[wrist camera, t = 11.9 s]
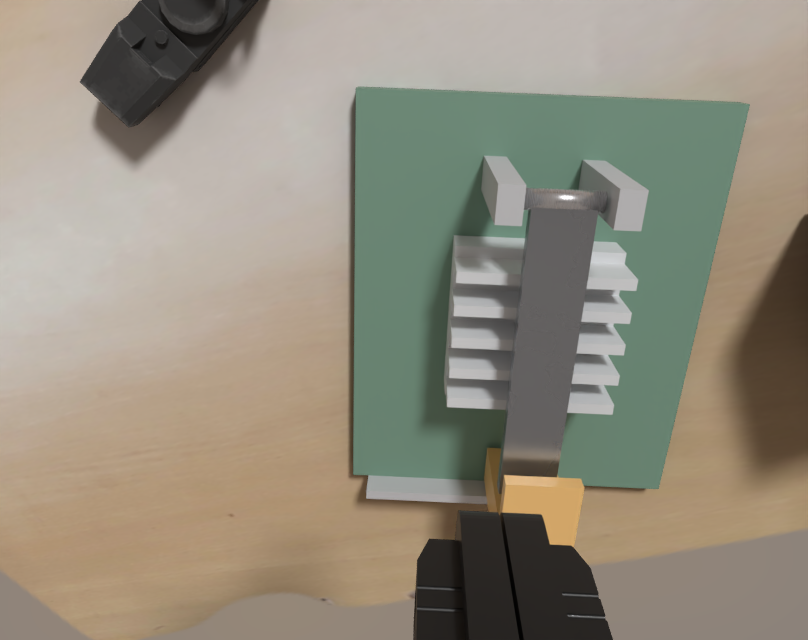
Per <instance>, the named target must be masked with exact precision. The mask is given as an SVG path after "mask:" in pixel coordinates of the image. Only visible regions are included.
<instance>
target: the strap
mask: <svg viewBox="0 0 808 640" xmlns="http://www.w3.org/2000/svg"><path fill="white" fill-rule="evenodd" d="M607 199H608V198H607V192H606V191H596V190H573V189H549V188H526V194H525V203H524V210H528V215H527V224H526V233H525V242H524V250H523V259H522V268H521V277H520V286H519V295H518V304H517V313H516V321H515V330H514V339H513V348H512V357H511V366H510V375H509V383H508V392H507V401H506V410H505V419H504V428H503V437H502V445H501V454H500V463H499V472H498V481H497V487H498V493H499V494H502V487H503V479H504V475H514V476H536V477H557V475H558V468H559V462H560V455H561V449H562V442H563V436H564V430H565V423H566V417H567V410H568V404H569V398H570V391H571V385H572V378H573V372H574V365H575V359H576V353H577V346H578V340H579V333H580V327H581V321H582V314H583V308H584V301H585V295H586V288H587V282H588V276H589V269H590V263H591V256H592V250H593V243H594V237H595V231H596V224H597V218H598V213H604V212H605V210H606V207H607Z"/></svg>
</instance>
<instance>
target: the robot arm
mask: <svg viewBox="0 0 808 640" xmlns="http://www.w3.org/2000/svg"><path fill="white" fill-rule="evenodd" d="M413 636H414V638H413V640H613V639H612V635H611V632H610V629H609V626H608V622H607V621H606V620H605V613H604V610H603V606H602V604H601V600H600V599H599V598H598V591H597V587H596V584H595V581H594V578H593V575H592V572H591V568H590V567H589V566H588V565H587V563H586V562H585V561H584V560H583V559H582V557H581V556H580V555H579V554H578V552H577V551H576V550H575V549H574V548H573V546H571V545H550V543H549V539H548V535H547V531H546V527H545V523H544V519H543V517H542V515H541V514H525V513H504V512H501V513H500V515H499V513H498V512H480V511H458V514H457V523H456V534H455V540H442V539H429V540H428V542H427V544H426V546H425V547H424V549H423V551H422V553H421V554H420V556H419V558H418V560H417V574H416V592H415V609H414V634H413Z"/></svg>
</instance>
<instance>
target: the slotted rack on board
mask: <svg viewBox="0 0 808 640" xmlns="http://www.w3.org/2000/svg"><path fill="white" fill-rule="evenodd" d="M749 106H750V104H746V103H741V102H722V101H698V100H673V99H649V98H624V97H600V96H576V95H551V94H527V93H502V92H478V91H453V90H429V89H404V88H380V87H357V88H356V135H355V286H354V436H353V475H368V483H367V491H366V499H387V500H407V501H428V502H449V503H470V504H487V497H486V490H485V482H484V474H485V464H486V455H487V448H501V445H502V437H503V428H504V419H505V410H506V401H507V392H508V383H509V375H510V366H511V357H512V348H513V339H514V330H515V321H516V313H517V304H518V295H519V286H520V277H521V268H522V259H523V250H524V242H525V233H526V224H527V215H528V210H524V203H525V194H526V188H549V189H573V190H596V191H606V192H607V198H608V199H607V207H606V210H605V212H604V213H598V218H597V224H596V231H595V237H594V243H593V250H592V256H591V263H590V269H589V276H588V282H587V288H586V295H585V301H584V308H583V314H582V321H581V327H580V333H579V340H578V346H577V353H576V359H575V365H574V372H573V378H572V385H571V391H570V398H569V404H568V410H567V417H566V423H565V430H564V436H563V442H562V449H561V455H560V462H559V468H558V477H559V478H578V479H581V480H582V483H583V486H604V487H625V488H647V489H659V485H660V480H661V476H662V472H663V468H664V464H665V459H666V455H667V451H668V447H669V443H670V438H671V434H672V430H673V426H674V422H675V417H676V413H677V409H678V405H679V400H680V396H681V392H682V388H683V384H684V379H685V375H686V371H687V367H688V363H689V358H690V354H691V350H692V346H693V342H694V337H695V333H696V329H697V325H698V320H699V316H700V312H701V308H702V304H703V299H704V295H705V291H706V287H707V283H708V278H709V274H710V270H711V266H712V262H713V257H714V253H715V249H716V245H717V241H718V236H719V232H720V228H721V224H722V219H723V215H724V211H725V207H726V203H727V198H728V194H729V190H730V186H731V182H732V177H733V173H734V169H735V165H736V161H737V156H738V152H739V148H740V144H741V139H742V135H743V131H744V127H745V123H746V118H747V114H748V110H749Z"/></svg>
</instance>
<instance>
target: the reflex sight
mask: <svg viewBox="0 0 808 640" xmlns="http://www.w3.org/2000/svg"><path fill="white" fill-rule="evenodd" d="M257 1H258V0H142V1H139V2H138V3H137V5H136V6H135V7H134V8H133V10H132V11H131V12H130V14H129V15H128V16H127V17H126V18H124V19H123V20H121V21H120V22H119V23H118V24H117V25H116V26H115V27H114V29H113V30H112V32H111V33H110V35H109V36H108V38H107V40H106V41H105V43H104V44H103V46H102V47H101V49H100V51H99V52H98V54H97V55H96V57H95V58H94V60H93V62H92V63H91V65H90V66H89V68H88V70H87V71H86V73H85V74H84V76H83V77H82V79H81V81H80V83H81V84H82V85H84V86H85V87H86V88H87V89H88V90H89V91H90V92H91V93H92V94H93V95H94V96H95V97H96V98H98V99H99V100H100V101H101V102H102V103H103V104H104V105H105V106H106V107H107V108H108V109H109V110H110V111H112V112H113V113H114V114H115V115H116V116H117V117H118V118H119V119H120V120H121V121H122V122H123V123H124V124H126V125H127V126H128V127H132V126H135V125H138V124H139V123H140V122H141V121H143V120H144V119H145V118H146V117H147V116H148V115H149V114H150V113H151V112H152V111H153V110H154V109H155V108H156V107H158V106H160V103H161V102H162V101H164V100H165V99H166V98H167V97H168V96H169V95H170V94H171V93H172V92H173V91H174V90H175V89H176V88H177V87H178V86H179V85H180V84H181V83H182V82H183V81H184V80H185V79H186V78H187V77H188V76H189V75H190V73H191V72H192V71H193V72H194V71H199V70H200V69H201V67H202V66H203V65H204V64H205V63H206V62H207V60H208V59H209V58H210V57H211V56H212V54H213V53H214V52H215V51H216V50H217V49H218V47H219V46H220V45H221V44H222V43H223V42H224V40H225V39H226V38H227V37H228V36H229V34H230V33H231V32H232V31H233V30H234V29H235V27H236V26H237V25H238V24H239V23H240V21H241V20H242V19H243V18H244V17H245V16H246V14H247V13H248V12H249V11H250V10H251V9H252V7H253V6H254V5H255V4H256V3H257Z"/></svg>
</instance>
